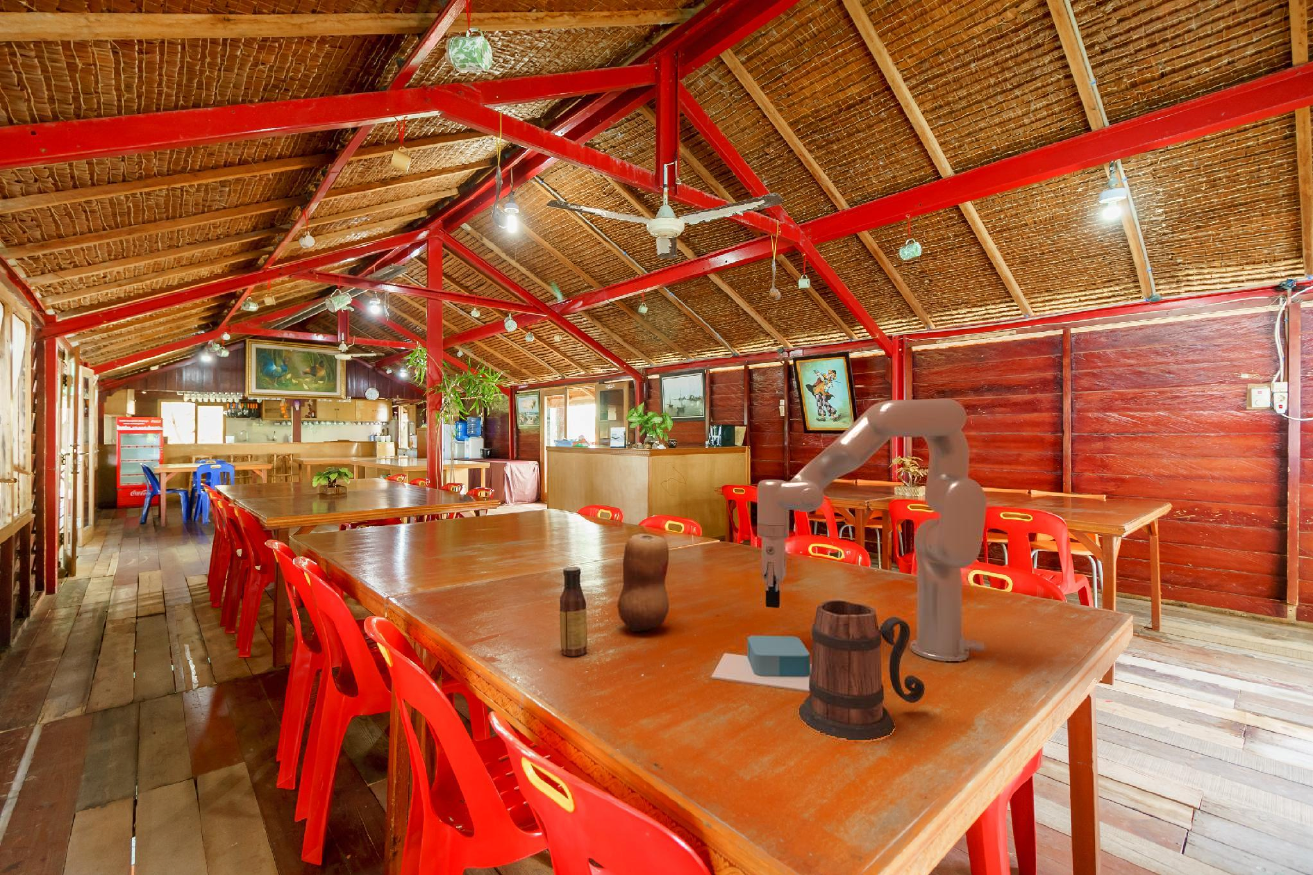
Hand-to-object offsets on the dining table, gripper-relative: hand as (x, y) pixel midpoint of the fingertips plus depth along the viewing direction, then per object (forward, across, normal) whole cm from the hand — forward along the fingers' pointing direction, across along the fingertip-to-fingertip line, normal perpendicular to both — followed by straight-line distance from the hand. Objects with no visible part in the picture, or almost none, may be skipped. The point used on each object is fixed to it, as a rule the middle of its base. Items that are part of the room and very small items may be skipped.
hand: (772, 606), depth 138 cm
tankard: (+10, -30, -20) cm, 37 cm away
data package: (+7, -6, 0) cm, 9 cm away
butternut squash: (+10, +2, +34) cm, 36 cm away
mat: (+10, -15, 0) cm, 18 cm away
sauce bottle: (+10, -19, +44) cm, 49 cm away
